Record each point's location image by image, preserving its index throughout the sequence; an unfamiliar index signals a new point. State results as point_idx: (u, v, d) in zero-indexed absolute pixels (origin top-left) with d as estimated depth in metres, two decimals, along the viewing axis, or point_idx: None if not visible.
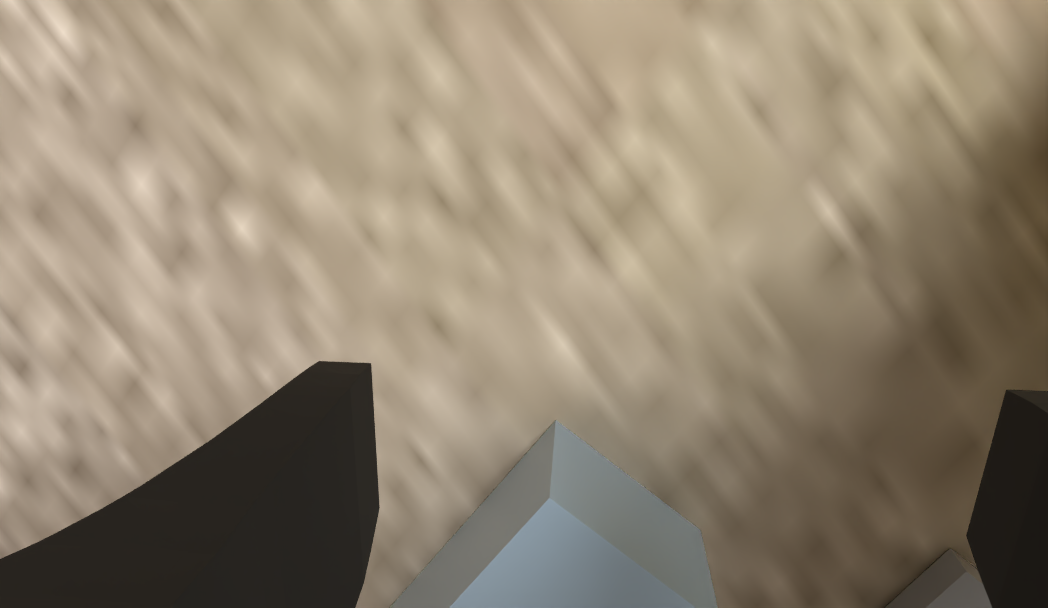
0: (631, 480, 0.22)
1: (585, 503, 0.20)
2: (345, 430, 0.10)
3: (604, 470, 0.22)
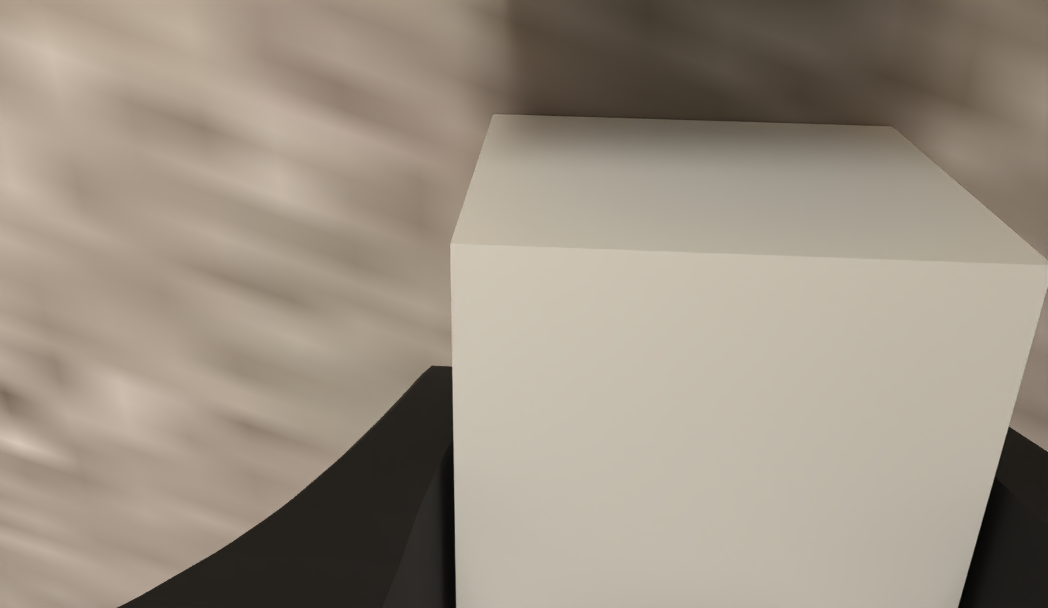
0: None
1: None
2: None
3: None
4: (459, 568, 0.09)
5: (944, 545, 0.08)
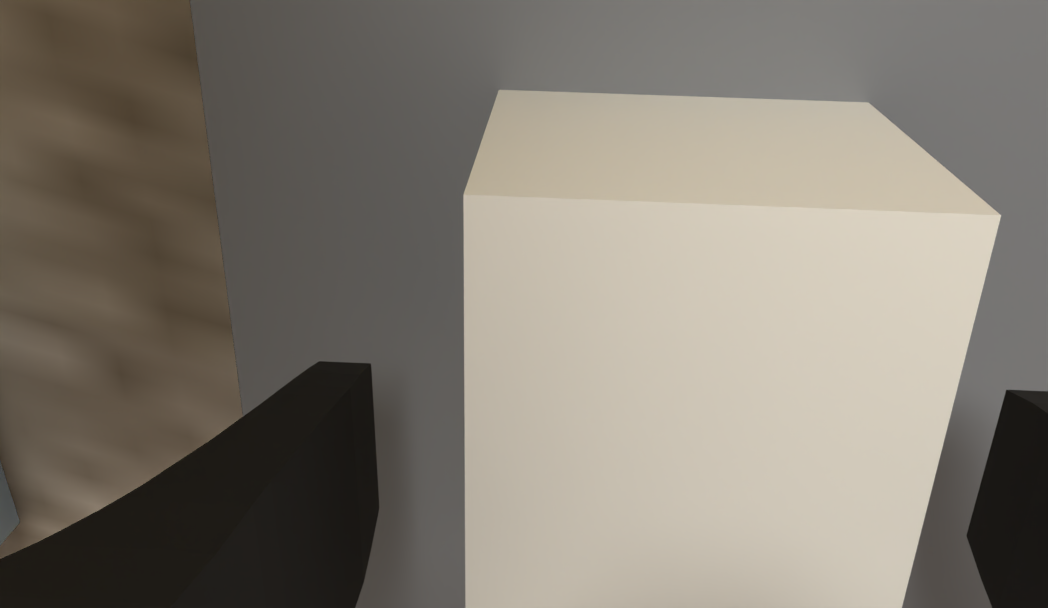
0: None
1: None
2: (345, 430, 0.10)
3: None
4: (468, 497, 0.09)
5: (907, 474, 0.09)
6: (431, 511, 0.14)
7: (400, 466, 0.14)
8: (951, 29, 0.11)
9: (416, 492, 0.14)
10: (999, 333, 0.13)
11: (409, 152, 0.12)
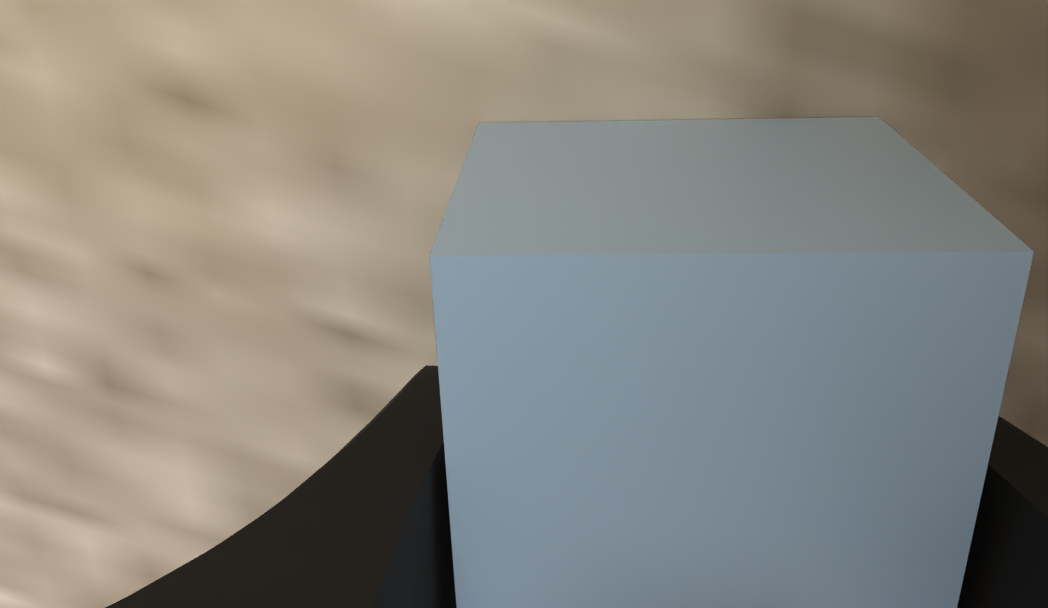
0: (685, 127, 0.10)
1: (551, 215, 0.08)
2: None
3: (609, 141, 0.10)
4: None
5: None
6: None
7: None
8: None
9: None
10: None
11: None
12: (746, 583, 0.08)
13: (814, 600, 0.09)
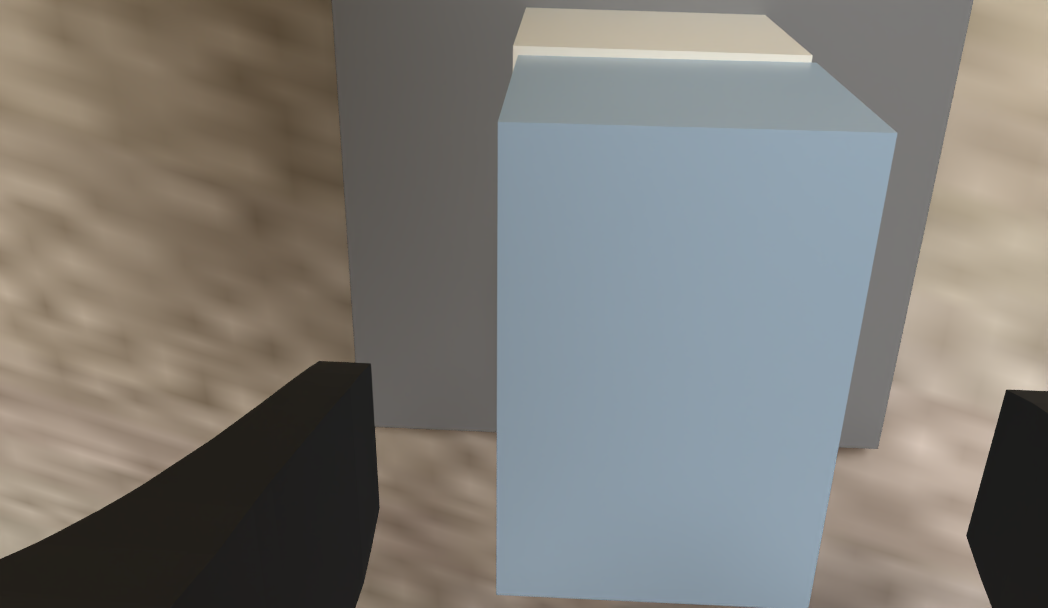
0: (672, 63, 0.14)
1: (577, 106, 0.12)
2: (345, 430, 0.10)
3: (616, 69, 0.14)
4: None
5: None
6: (475, 312, 0.21)
7: (455, 278, 0.20)
8: None
9: (465, 297, 0.21)
10: None
11: (467, 50, 0.18)
12: (703, 373, 0.12)
13: (750, 387, 0.12)
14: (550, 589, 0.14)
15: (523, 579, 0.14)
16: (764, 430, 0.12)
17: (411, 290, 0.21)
